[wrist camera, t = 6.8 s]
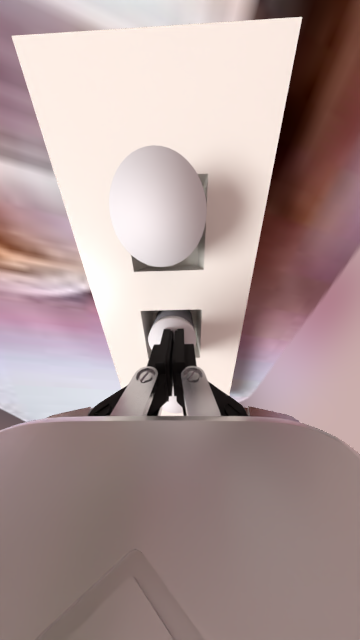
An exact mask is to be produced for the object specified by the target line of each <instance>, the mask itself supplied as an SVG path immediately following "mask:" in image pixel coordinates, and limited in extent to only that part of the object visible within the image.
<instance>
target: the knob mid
mask: <svg viewBox="0 0 360 640" xmlns="http://www.w3.org/2000/svg"><path fill="white" fill-rule="evenodd" d="M164 329H171V331H173V338H174V335H175V330H177V329H184V344H194V348H195V345H196V335H195V330H194V324H193V318H192V314H191V312H190V310H159V311H158V313H157V316H156V318H155V321H154V323H153V325H152V328H151V330H150V333H149V336H148V342H149V346H150V348H151V350H152V349H153V346H154V344H160V342H161V338H162V334H163V330H164Z"/></svg>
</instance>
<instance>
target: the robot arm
mask: <svg viewBox="0 0 360 640" xmlns="http://www.w3.org/2000/svg"><path fill="white" fill-rule="evenodd" d="M173 387H174V396H176V399H177V403H178V404H179V405H180V406H181V407H182V412H183V416H160V415H161V412H162V406H163V405H164V404H165V403H166V402H169V396H172V388H173ZM0 640H360V454H359V453H358V452H356V451H355V450H354V449H353V448H351V447H350V446H349V445H348V444H346V443H345V442H343V441H342V440H340V439H338V438H337V437H335V436H333V435H331V434H329V433H327V432H324V431H323V430H320V429H318V428H315V427H312V426H309V425H306V424H304V423H300V422H299V421H298V420H296V419H295V418H293V417H292V416H289V415H286V414H281V413H276V412H272V411H268V410H263V409H258V408H254V407H249V406H248V408H244V407H243V406H242V405H241V404H239V403H238V402H237V401H235V400H234V399H233V398H231V397H230V396H228V395H227V394H225V393H224V392H223V391H221V390H220V389H218V388H217V387H215V386H214V385H213V384H211V383H210V382H208V380H207V378H206V375H205V373H204V371H203V370H202V369H201V368H199V367H197V365H196V358H195V350H194V344H184V329H177V330H175V335H174V338H173V331H171V329H164V330H163V334H162V338H161V342H160V344H154V346H153V349H152V352H151V355H150V358H149V361H148V364H147V366H146V367H143V368H140V369H139V370H138V371H136V373H135V374H134V376H133V377H132V379H131V381H130V382H129V384H128V385H127V386H125V387H124V388H122V389H121V390H119V391H118V392H116V393H115V394H113V395H111V396H110V397H108V398H107V399H105V400H104V401H102V402H100V403H99V404H98V405H96V406H95V407H94V408H93V409H91V407H88V408H83V409H79V410H74V411H70V412H65V413H61V414H56V415H52V416H50V417H47V418H46V419H39V420H33V421H29V422H25V423H21V424H17V425H15V426H12V427H9V428H6V429H3V430H0Z"/></svg>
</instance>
